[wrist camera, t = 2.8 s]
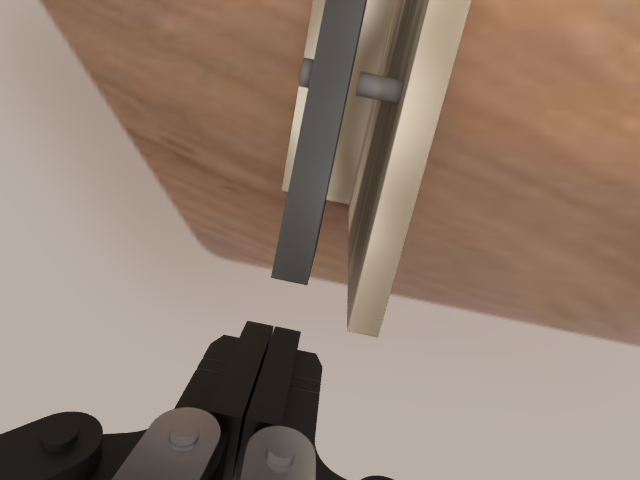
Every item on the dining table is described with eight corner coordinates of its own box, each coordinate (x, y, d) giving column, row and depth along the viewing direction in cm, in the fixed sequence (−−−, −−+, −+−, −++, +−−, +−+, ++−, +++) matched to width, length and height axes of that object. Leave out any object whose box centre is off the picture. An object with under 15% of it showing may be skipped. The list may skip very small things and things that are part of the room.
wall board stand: (457, -27, 38) (657, -247, 13) (395, 210, 45) (449, 352, 21) (324, -55, 38) (275, -325, 13) (283, 187, 45) (203, 301, 21)
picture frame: (366, 4, 31) (397, -157, 17) (316, 248, 33) (307, 285, 19) (337, -2, 31) (345, -167, 17) (289, 243, 33) (259, 275, 19)
